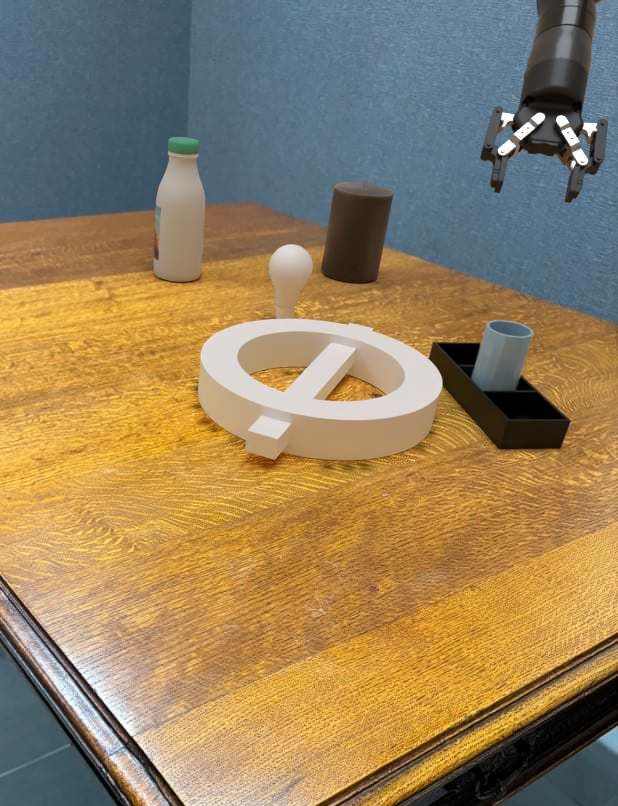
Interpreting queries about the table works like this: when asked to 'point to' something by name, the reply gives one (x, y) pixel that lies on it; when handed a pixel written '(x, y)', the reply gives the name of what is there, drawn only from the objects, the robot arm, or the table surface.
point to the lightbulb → (289, 277)
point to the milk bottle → (180, 215)
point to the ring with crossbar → (317, 389)
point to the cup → (501, 355)
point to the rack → (499, 402)
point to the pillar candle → (356, 232)
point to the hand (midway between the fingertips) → (533, 194)
